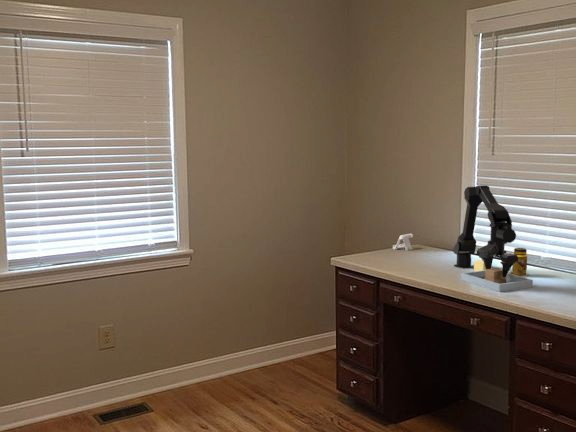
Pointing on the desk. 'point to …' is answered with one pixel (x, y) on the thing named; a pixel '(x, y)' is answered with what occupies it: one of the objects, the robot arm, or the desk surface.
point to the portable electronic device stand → (406, 242)
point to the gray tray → (514, 283)
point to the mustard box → (479, 265)
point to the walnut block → (495, 275)
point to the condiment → (520, 263)
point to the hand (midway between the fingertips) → (496, 275)
